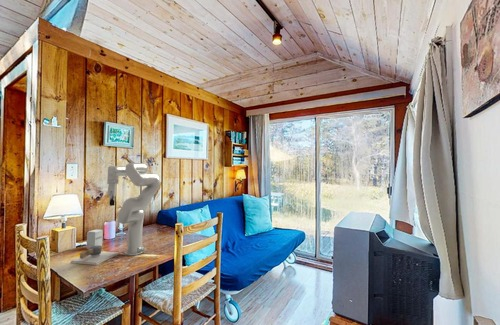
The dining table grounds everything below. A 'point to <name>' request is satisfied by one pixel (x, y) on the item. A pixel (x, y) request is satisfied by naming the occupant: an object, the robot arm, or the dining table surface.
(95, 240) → the supplement box
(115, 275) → the dining table surface
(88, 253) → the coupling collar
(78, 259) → the post base
